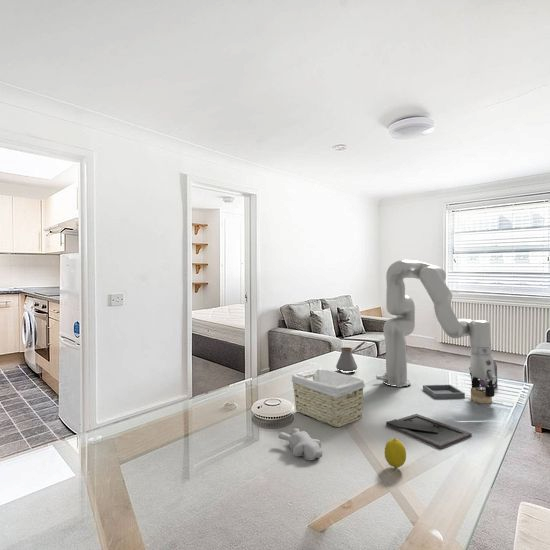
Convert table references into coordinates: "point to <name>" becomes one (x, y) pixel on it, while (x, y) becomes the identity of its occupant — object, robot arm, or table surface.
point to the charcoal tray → (443, 391)
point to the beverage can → (487, 378)
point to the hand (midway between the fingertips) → (482, 393)
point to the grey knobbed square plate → (482, 390)
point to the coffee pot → (347, 359)
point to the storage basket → (328, 396)
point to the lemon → (395, 453)
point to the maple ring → (479, 396)
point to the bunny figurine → (302, 444)
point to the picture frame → (428, 430)
